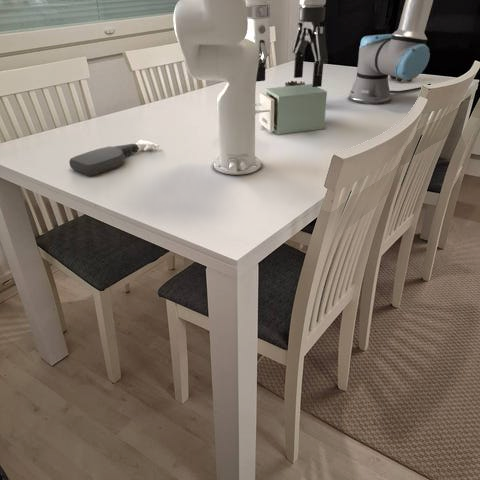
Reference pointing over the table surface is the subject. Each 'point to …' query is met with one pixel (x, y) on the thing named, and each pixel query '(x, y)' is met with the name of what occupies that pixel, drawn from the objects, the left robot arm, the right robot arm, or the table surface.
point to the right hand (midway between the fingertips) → (307, 81)
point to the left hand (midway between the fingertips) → (256, 78)
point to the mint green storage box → (299, 108)
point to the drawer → (268, 111)
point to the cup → (294, 83)
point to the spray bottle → (106, 157)
